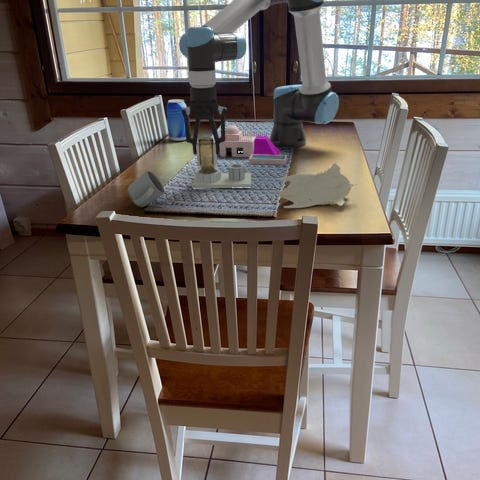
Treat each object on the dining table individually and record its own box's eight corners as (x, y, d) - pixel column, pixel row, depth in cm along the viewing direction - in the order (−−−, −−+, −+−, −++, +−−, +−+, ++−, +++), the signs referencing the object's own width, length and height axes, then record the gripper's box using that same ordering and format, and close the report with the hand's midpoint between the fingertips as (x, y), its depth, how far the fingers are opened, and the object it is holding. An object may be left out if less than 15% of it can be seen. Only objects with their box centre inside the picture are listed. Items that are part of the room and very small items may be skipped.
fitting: (215, 168, 146) (213, 137, 142) (214, 173, 142) (212, 140, 138) (201, 168, 146) (199, 137, 142) (199, 173, 142) (197, 141, 138)
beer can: (165, 140, 198) (161, 101, 191) (175, 135, 205) (172, 98, 198) (183, 141, 195) (179, 102, 188) (192, 137, 202) (189, 99, 195)
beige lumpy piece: (283, 215, 123) (276, 172, 124) (279, 219, 135) (273, 180, 136) (364, 202, 123) (357, 159, 124) (354, 207, 135) (347, 168, 136)
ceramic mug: (144, 209, 132) (130, 186, 132) (168, 193, 131) (153, 170, 131) (131, 210, 122) (115, 185, 122) (156, 193, 121) (140, 168, 121)
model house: (215, 163, 167) (214, 133, 162) (225, 150, 182) (224, 123, 177) (285, 165, 162) (285, 135, 158) (289, 152, 178) (289, 124, 173)
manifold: (251, 177, 151) (250, 160, 148) (251, 188, 141) (250, 171, 138) (196, 178, 151) (194, 161, 149) (192, 189, 141) (191, 172, 139)
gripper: (233, 83, 136) (235, 160, 147) (174, 84, 137) (181, 161, 147) (232, 87, 130) (235, 167, 140) (170, 88, 130) (177, 168, 140)
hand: (207, 164), depth 143 cm, fingers closed on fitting, 4 cm apart
